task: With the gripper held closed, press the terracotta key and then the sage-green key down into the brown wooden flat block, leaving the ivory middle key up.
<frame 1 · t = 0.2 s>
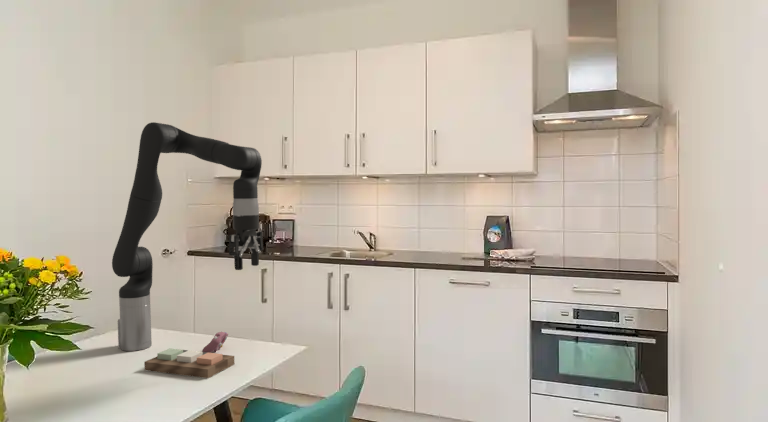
hand: (247, 267, 154), 28 cm above the table, fingers open, 8 cm apart
key sage: (170, 355, 152), point 3 cm above the table, slide at 0.0 cm
key terracotta: (209, 360, 147), point 3 cm above the table, slide at 0.0 cm
video game controller: (216, 351, 166), on the table
key ivory: (189, 357, 150), point 3 cm above the table, slide at 0.0 cm
brown wooden flat block: (190, 367, 150), on the table
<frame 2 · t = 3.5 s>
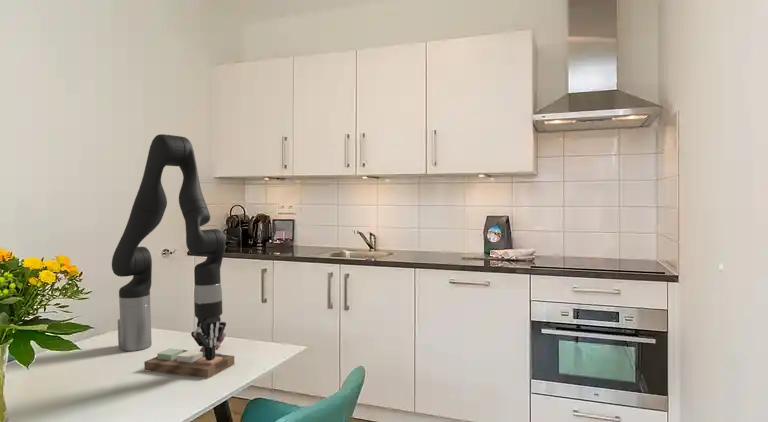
hand: (210, 359, 147), 3 cm above the table, fingers closed
key terracotta: (209, 363, 147), point 2 cm above the table, slide at 0.9 cm, touching gripper
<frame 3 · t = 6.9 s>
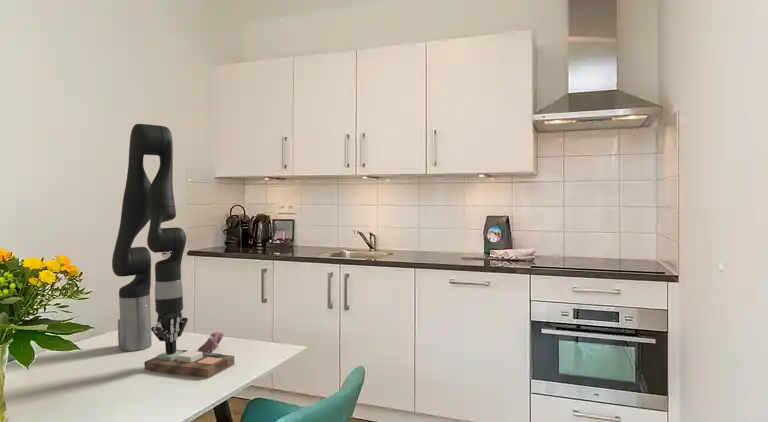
hand: (171, 353, 152), 3 cm above the table, fingers closed
key sage: (170, 357, 152), point 2 cm above the table, slide at 0.6 cm, touching gripper
key terracotta: (209, 364, 147), point 1 cm above the table, slide at 1.3 cm
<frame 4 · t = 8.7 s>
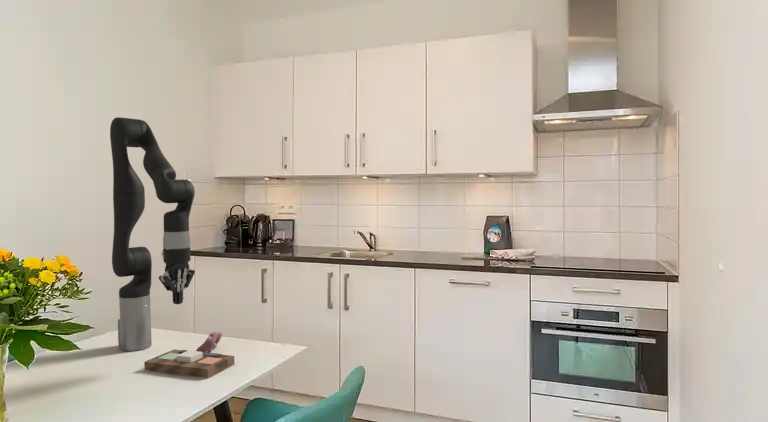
hand: (177, 303, 154), 18 cm above the table, fingers closed
key sage: (170, 360, 152), point 1 cm above the table, slide at 1.4 cm
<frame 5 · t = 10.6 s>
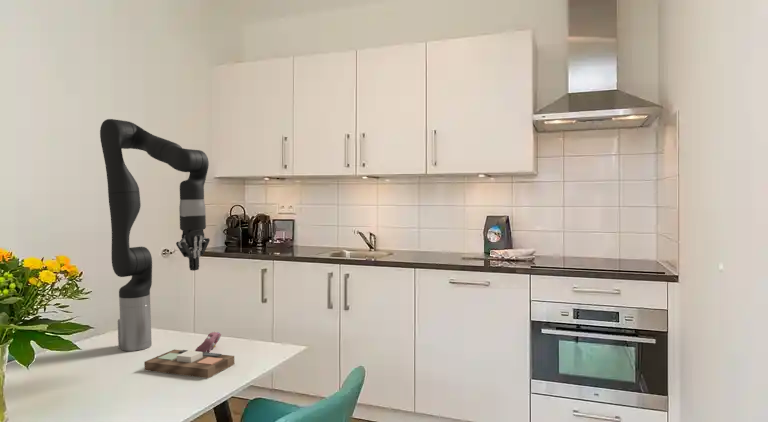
hand: (194, 270, 159), 27 cm above the table, fingers closed
at the end: key terracotta slide at 1.3 cm; key sage slide at 1.4 cm; key ivory slide at 0.0 cm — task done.
